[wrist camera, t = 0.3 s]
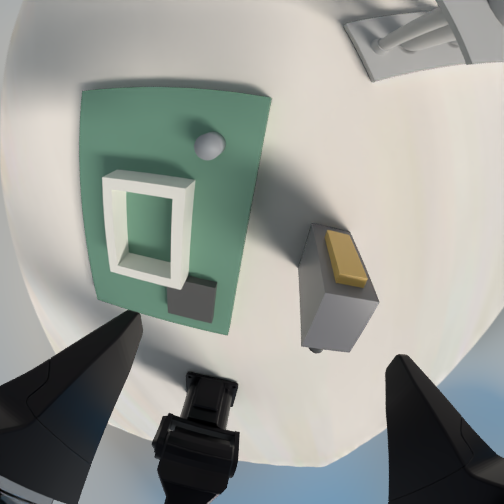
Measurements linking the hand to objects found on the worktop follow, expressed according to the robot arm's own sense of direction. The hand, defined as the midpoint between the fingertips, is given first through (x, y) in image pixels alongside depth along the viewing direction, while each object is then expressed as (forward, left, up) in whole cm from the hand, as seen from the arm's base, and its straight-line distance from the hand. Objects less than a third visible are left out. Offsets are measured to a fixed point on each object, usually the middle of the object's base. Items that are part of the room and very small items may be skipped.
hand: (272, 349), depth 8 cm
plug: (-3, -4, -12) cm, 13 cm away
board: (-3, +9, -12) cm, 16 cm away
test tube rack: (+19, -13, -13) cm, 27 cm away
